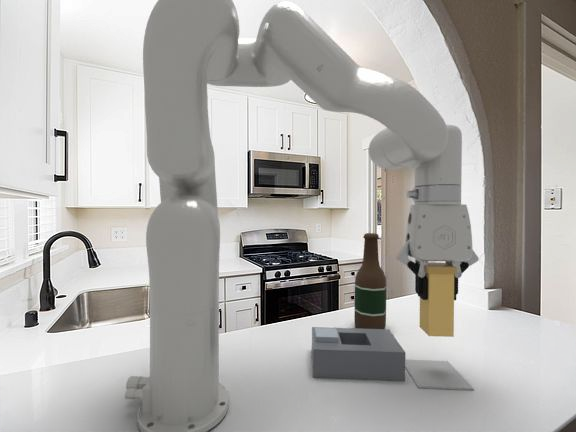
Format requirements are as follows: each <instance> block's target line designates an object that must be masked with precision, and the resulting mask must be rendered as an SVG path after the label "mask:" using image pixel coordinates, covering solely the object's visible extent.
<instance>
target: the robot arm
mask: <svg viewBox="0 0 576 432" xmlns="http://www.w3.org/2000/svg"><path fill="white" fill-rule="evenodd" d="M144 30H145V31H144V37H143V47H142V48H143V49H142V69H143V85H144V86H143V88H144V89H143V90H144V112H145V116H144V117H145V129H146V131H145V132H146V155H147V156H146V157H147V161H148V162H147V163H148V164H149V166H150V168H151V170H152V171H153V173H154V174H155V175H156V176H157V177H158V180H159V195H160V203H159V204H158V205H157V206H156V207H155V209H154V210H153V212H152V213H151V214H150V217H149V218H148V223H147V226H146V232H145V234H146V235H145V242H146V243H145V244H146V245H145V246H146V247H145V248H146V254H147V265H148V266H147V267H148V278H149V281H148V283H149V376H141V375H139V376H138V375H130V376H129V377H128V379H127V382H126V384H125V388H126V390H125V393H124V399H125V400H139V401H140V402H142V403H141V405H140V406H139V409H138V411H137V427H138V429H139V431H140V432H209V431H210V430H212V429H213V428H214V427H216V426H217V425H218V424H219V423H220V422H221V421H222V420H223V419H224V417H225V416H226V414H227V413H228V411H229V408H230V407H229V406H230V395H229V391H228V389H227V388H226V387H225V386H224V385H223V384H221V383H220V382H219V381H220V379H219V378H220V377H219V376H220V373H219V372H220V370H219V369H220V357H219V356H220V250H221V249H220V248H221V247H220V246H221V225H220V220H219V219H220V218H219V210H218V209H219V208H218V196H217V193H218V192H217V181H216V165H215V164H216V162H215V150H214V147H213V143H212V139H211V132H210V131H211V130H210V120H209V107H208V105H209V102H208V101H209V100H208V99H209V97H208V85H211V86H216V87H241V88H242V87H245V88H247V87H250V88H269V87H279V86H283V85H285V84H287V83H289V82H290V81H292V82H293V83H294V84H295V85H296V86H297V87H298V88H299V89H300V90H302V92H304V93H305V94H306V95H307V96H308V97H309V98H310V99H311V100H312V101H313V102H315V104H317V106H319V108H321V109H322V110H324V111H328V112H333V113H334V112H335V113H353V114H358V115H362V116H364V117H365V116H366V117H369V118H370V119H373V120H375V121H377V122H379V123H380V124H381V125H383V126H384V127H385V128H384V129H382V130H381V131H379V132H378V133H376V134H375V135H374V136H373V137H372V139H371V141H370V143H369V146H368V155H369V158H370V161H372V163H373V164H374V165H376V166H377V167H379V168H381V169H383V170H384V169H385V170H401V169H407V168H408V169H410V168H412V169H414V187H413V189H411V190H407V191H406V198H407V199H412V201H413V204H410V207H409V212H408V216H407V217H408V218H407V224H406V232H405V233H406V234H405V242H404V245H403V246H402V247H401V249H400V250H399V252H398V253H397V255H396V257H395V258H396V260H397V261H399V262H400V263H402V264H403V265H405V266H406V267H407V268H408V269H409V270H410V271H411V272H412V273H413V274H414V275H415V277H414V278H415V282H414V283H415V284H414V286H415V287H414V288H415V290H414V291H415V293H416V294H417V296H418V297H419V299H420V298H422V299H423V300H427V299H428V278H427V277H426V274H425V273H426V266H427V264H428V262H444V263H446V264H450V265H451V266H455V267H457V274H454V301H457V295H458V294H459V278H461V277H462V275H463V273H465V271H466V270H467V269H469V268H470V266H473V265H474V264H475V263H477V262H478V261H479V259H480V258H479V255H477V253H476V252H475V250H474V249H473V236H472V235H473V234H472V225H471V218H470V213H469V208H468V206H467V204H462V163H463V162H462V161H463V160H462V158H463V155H462V154H463V145H462V144H463V135H462V134H463V133H462V131H461V128H459V127H458V126H456V125H453V124H452V125H451V124H447V123H446V121H445V120H444V118H443V117H442V115H441V114H440V111H438V110H437V109H436V108H435V107H434V105H433V104H432V103H431V102H430V101H429V100H428V99H427V98H426V97H425V96H424V95H423V94H422V93H421V92H420V91H419V90H418V89H416V88H415V87H414V86H412V85H411V84H409V83H408V82H406V81H404V80H402V79H399V78H398V77H394V76H391V75H388V74H387V73H383V72H381V71H377V70H373V69H369V68H367V67H366V68H365V67H364V66H361V65H360V64H358V63H357V62H356V61H355V60H354V59H353V58H352V57H351V56H350V55H349V54H348V53H347V52H346V51H345V50H343V48H341V46H340V45H339V44H338V43H336V42H335V40H334V39H333V38H332V37H330V35H329V34H327V32H326V31H325V30H324V29H323V28H321V26H319V24H318V23H317V22H316V21H315V20H314V19H313V18H312V17H311V16H309V14H307V13H306V11H305V10H303V9H302V8H301V7H300V6H298V5H297V4H295V3H293V2H290V1H281V2H278V3H275V4H274V5H272V6H271V7H270V8H269V9H268V11H267V12H266V13H265V14H264V16H263V18H262V20H261V23H260V25H259V28H258V31H257V35H256V38H240V20H239V16H238V11H237V8H236V5H235V2H234V0H157V1H156V3H155V4H154V6H153V7H152V10H151V11H150V14H149V16H148V20H147V22H146V27H145V29H144ZM409 257H411V258H414V261H413V260H411V259H410V258H409Z"/></svg>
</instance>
